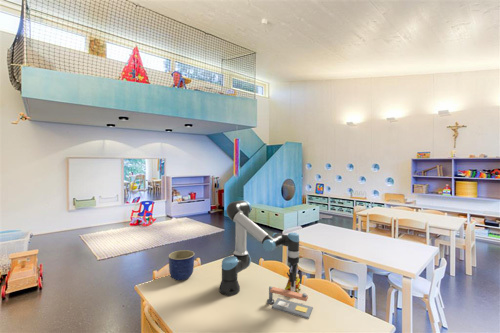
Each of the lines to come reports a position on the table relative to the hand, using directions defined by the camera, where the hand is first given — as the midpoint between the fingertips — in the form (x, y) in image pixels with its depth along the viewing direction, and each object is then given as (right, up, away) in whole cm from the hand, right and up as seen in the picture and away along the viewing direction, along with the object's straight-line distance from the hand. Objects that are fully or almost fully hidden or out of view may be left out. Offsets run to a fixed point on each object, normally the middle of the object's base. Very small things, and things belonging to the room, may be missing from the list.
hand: (292, 290), depth 169 cm
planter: (-85, -7, +34) cm, 92 cm away
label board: (-2, -7, -8) cm, 11 cm away
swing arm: (-5, -6, -7) cm, 10 cm away
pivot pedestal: (-15, -7, -1) cm, 17 cm away
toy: (+3, -8, +14) cm, 16 cm away
